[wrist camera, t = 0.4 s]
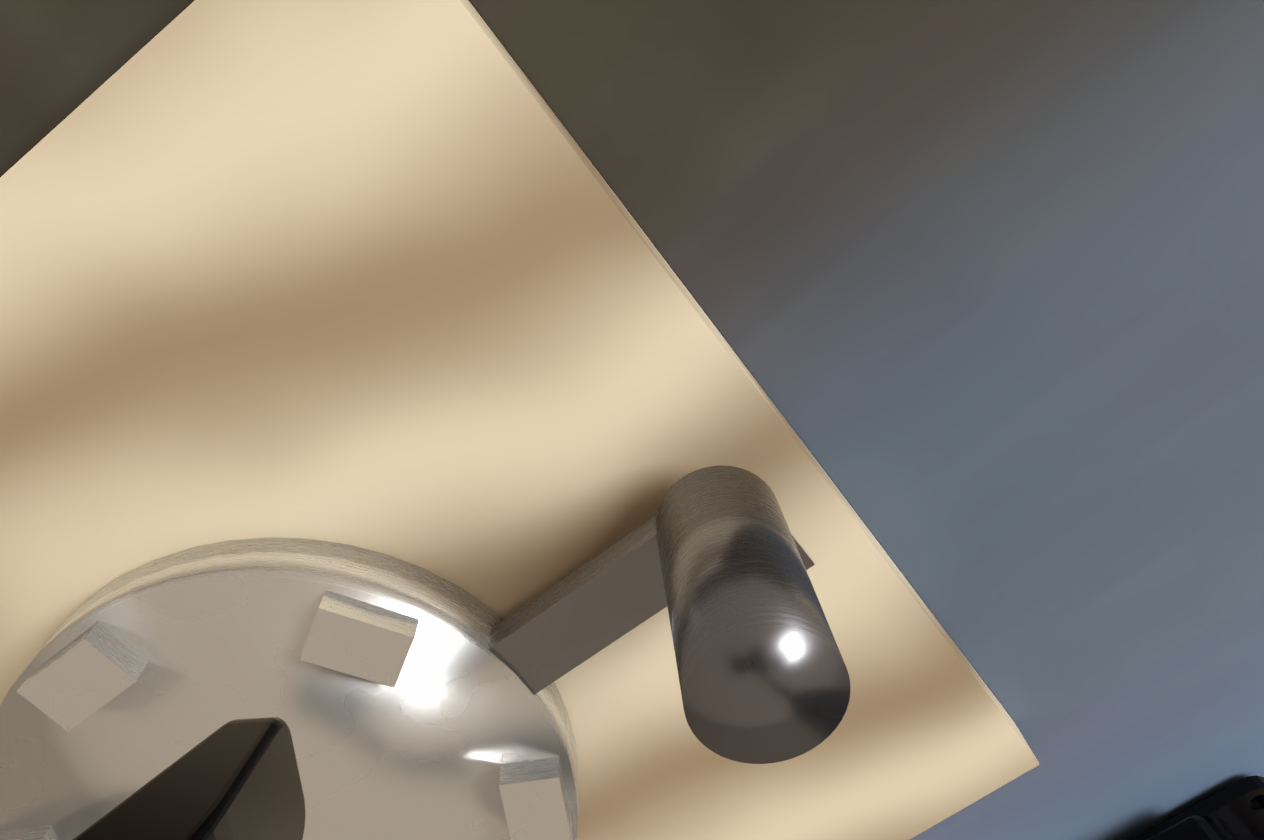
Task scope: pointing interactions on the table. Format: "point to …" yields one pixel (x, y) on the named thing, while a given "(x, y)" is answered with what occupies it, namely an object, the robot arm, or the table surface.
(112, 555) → the base plate
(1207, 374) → the table surface
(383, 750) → the grey metal part
